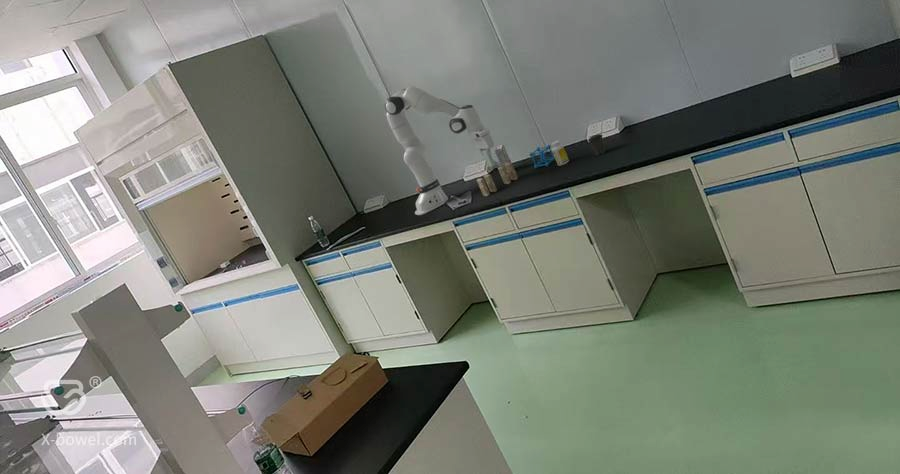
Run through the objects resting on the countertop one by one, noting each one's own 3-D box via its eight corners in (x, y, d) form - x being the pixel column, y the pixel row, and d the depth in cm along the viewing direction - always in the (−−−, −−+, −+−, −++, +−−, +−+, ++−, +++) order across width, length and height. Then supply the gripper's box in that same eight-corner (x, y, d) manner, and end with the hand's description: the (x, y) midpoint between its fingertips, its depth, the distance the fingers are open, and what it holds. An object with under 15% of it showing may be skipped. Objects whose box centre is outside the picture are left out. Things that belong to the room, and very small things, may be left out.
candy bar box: (506, 170, 396) (496, 146, 392) (513, 167, 395) (503, 143, 390) (504, 175, 386) (494, 151, 382) (512, 172, 385) (502, 147, 380)
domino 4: (515, 179, 366) (508, 164, 363) (511, 179, 371) (504, 164, 368) (518, 178, 367) (511, 162, 364) (513, 178, 371) (507, 162, 368)
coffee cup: (609, 151, 336) (603, 134, 333) (595, 157, 337) (588, 140, 334) (606, 148, 344) (599, 131, 341) (592, 155, 345) (585, 138, 342)
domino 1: (487, 196, 360) (480, 180, 357) (483, 195, 365) (476, 179, 362) (490, 194, 361) (483, 178, 358) (486, 194, 365) (479, 178, 362)
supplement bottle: (570, 159, 354) (562, 138, 351) (566, 164, 349) (558, 142, 346) (560, 162, 358) (551, 141, 355) (556, 167, 353) (547, 146, 350)
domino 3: (508, 183, 365) (501, 168, 362) (504, 183, 369) (497, 168, 366) (511, 182, 365) (504, 166, 362) (507, 182, 370) (500, 166, 367)
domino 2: (494, 191, 361) (487, 176, 359) (490, 191, 366) (483, 175, 363) (497, 190, 362) (490, 174, 359) (493, 189, 367) (486, 174, 364)
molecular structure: (557, 159, 369) (550, 143, 366) (548, 166, 362) (541, 150, 360) (543, 162, 376) (537, 146, 373) (534, 169, 370) (528, 153, 367)
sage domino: (492, 166, 359) (485, 150, 357) (488, 166, 364) (481, 150, 361) (495, 164, 360) (488, 148, 357) (491, 164, 364) (484, 149, 362)
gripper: (465, 136, 365) (474, 157, 369) (480, 134, 346) (490, 157, 350) (473, 131, 367) (483, 153, 370) (490, 129, 348) (500, 152, 352)
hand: (487, 155), depth 360 cm, fingers closed on sage domino, 5 cm apart
